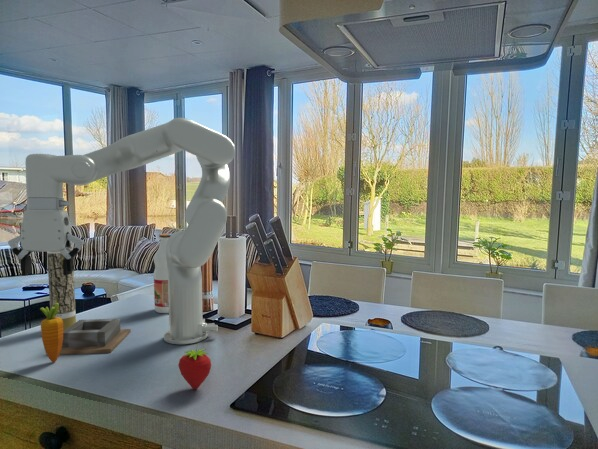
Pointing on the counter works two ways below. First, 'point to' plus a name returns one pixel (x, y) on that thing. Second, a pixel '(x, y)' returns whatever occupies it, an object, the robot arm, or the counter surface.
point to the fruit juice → (161, 276)
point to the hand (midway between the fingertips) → (47, 274)
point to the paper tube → (61, 289)
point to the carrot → (52, 332)
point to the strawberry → (195, 367)
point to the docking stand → (93, 336)
